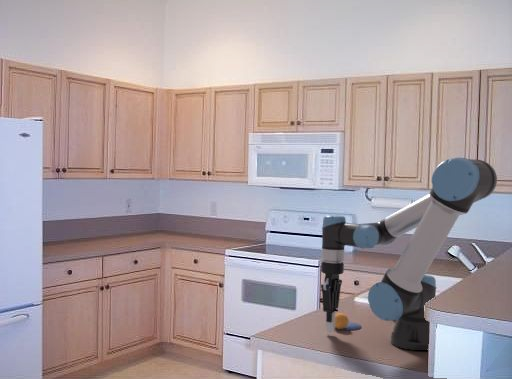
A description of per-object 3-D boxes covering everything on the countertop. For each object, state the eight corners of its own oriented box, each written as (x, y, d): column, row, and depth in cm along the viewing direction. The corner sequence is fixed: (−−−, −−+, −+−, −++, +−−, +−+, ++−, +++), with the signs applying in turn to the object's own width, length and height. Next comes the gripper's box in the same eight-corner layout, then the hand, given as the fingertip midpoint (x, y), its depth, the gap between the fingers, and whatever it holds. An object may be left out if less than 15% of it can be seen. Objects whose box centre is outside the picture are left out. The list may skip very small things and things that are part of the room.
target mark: (368, 328, 201) (368, 327, 201) (341, 331, 195) (341, 331, 195) (347, 320, 211) (347, 319, 211) (321, 323, 206) (321, 322, 206)
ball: (349, 317, 196) (349, 331, 197) (347, 310, 201) (347, 325, 202) (333, 317, 196) (333, 331, 197) (332, 310, 201) (332, 324, 202)
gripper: (329, 257, 198) (327, 324, 198) (314, 262, 187) (311, 333, 187) (350, 260, 194) (347, 328, 195) (335, 264, 183) (332, 337, 183)
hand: (330, 330), depth 191 cm, fingers closed
